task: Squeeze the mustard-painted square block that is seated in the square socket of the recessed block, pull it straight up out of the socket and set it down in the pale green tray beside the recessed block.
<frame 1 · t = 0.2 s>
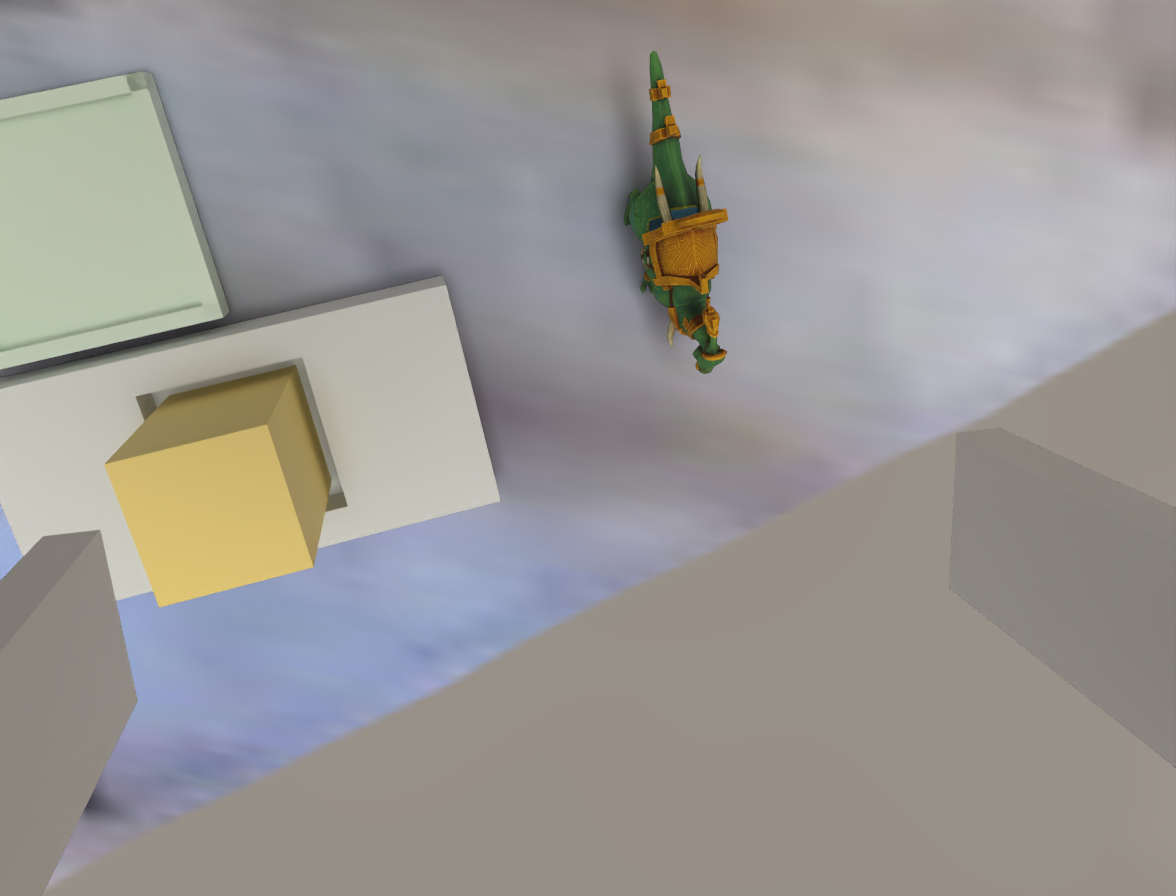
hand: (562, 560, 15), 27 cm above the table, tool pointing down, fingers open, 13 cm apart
recessed block: (256, 432, 41), on the table
tray: (72, 223, 37), on the table
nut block: (252, 438, 40), point 1 cm above the table, touching recessed block
figurine: (650, 213, 41), on the table
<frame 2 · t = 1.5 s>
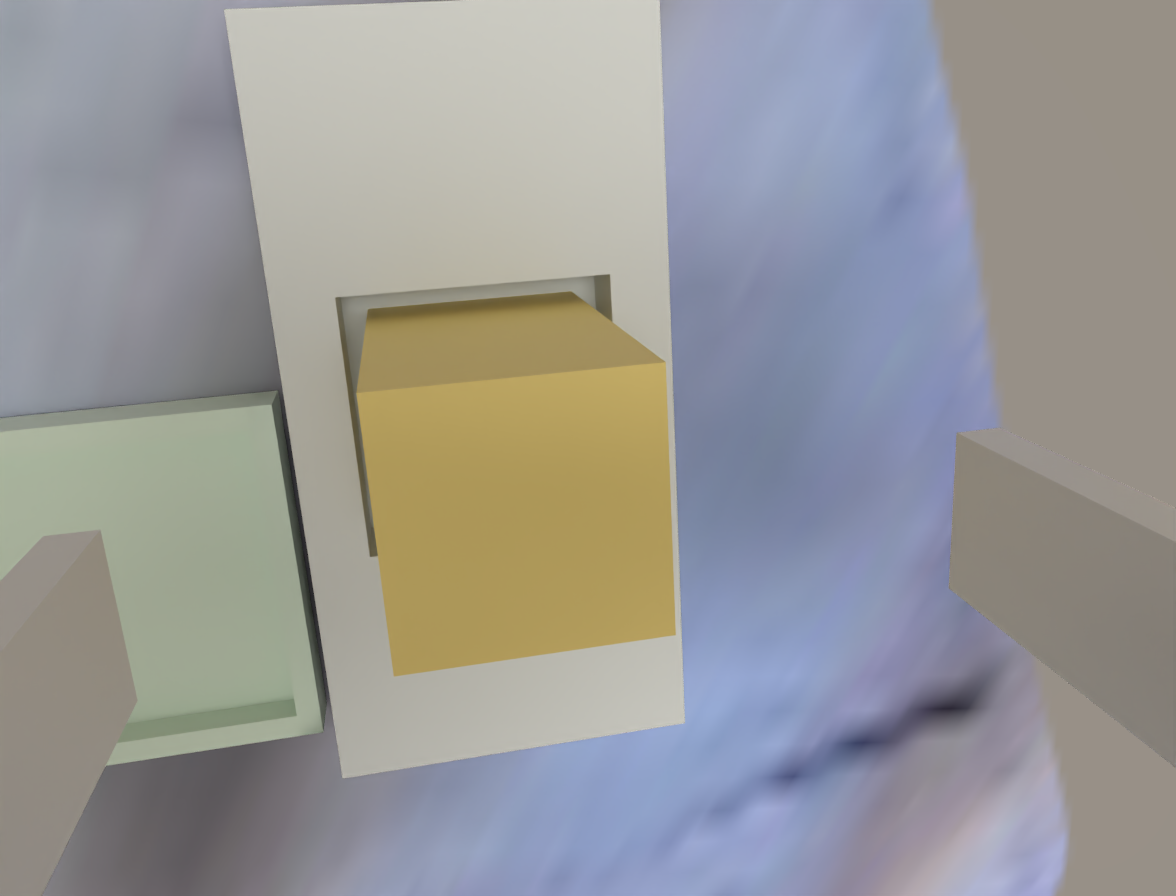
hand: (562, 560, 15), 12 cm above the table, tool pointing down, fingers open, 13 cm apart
recessed block: (477, 389, 26), on the table
tray: (125, 576, 26), on the table
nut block: (480, 398, 25), point 1 cm above the table, touching recessed block
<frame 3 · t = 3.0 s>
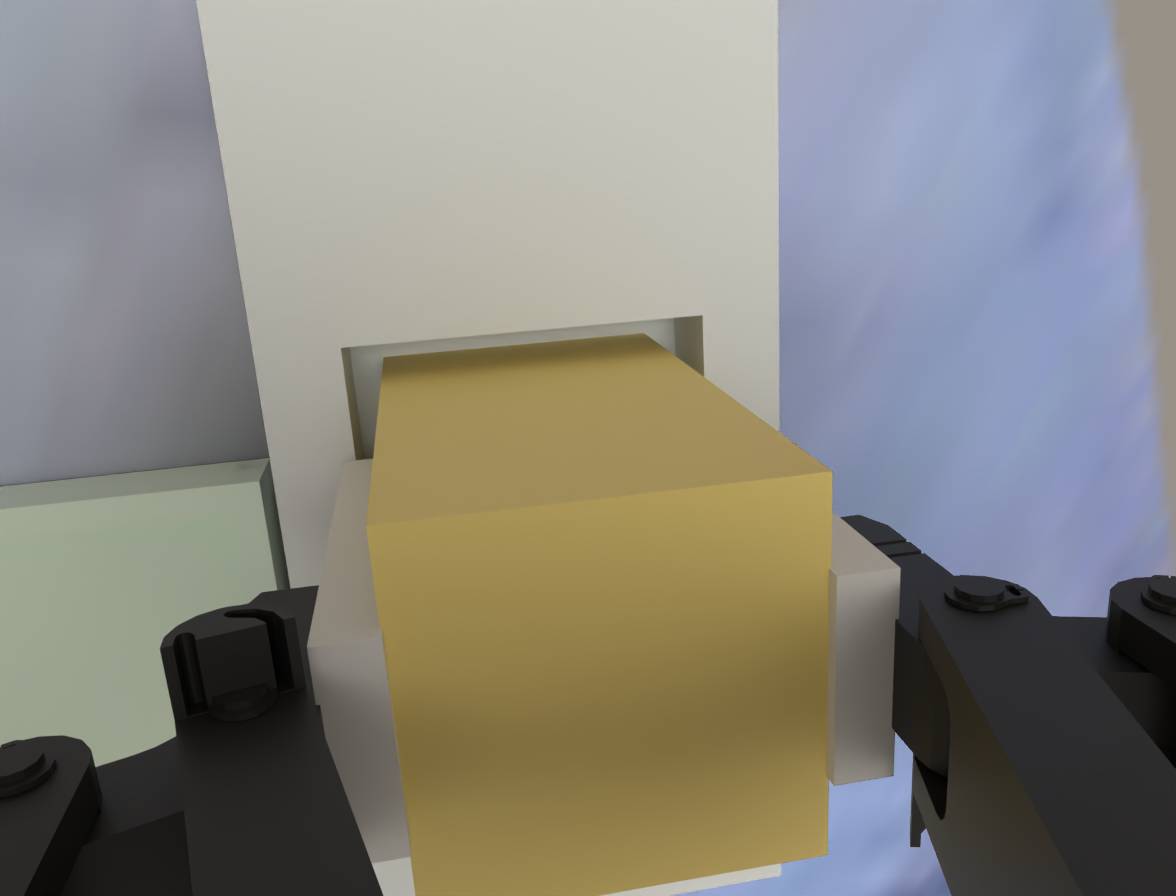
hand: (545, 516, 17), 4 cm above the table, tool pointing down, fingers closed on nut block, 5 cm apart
recessed block: (521, 454, 21), on the table
tray: (77, 690, 20), on the table
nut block: (526, 468, 20), point 1 cm above the table, touching gripper, recessed block
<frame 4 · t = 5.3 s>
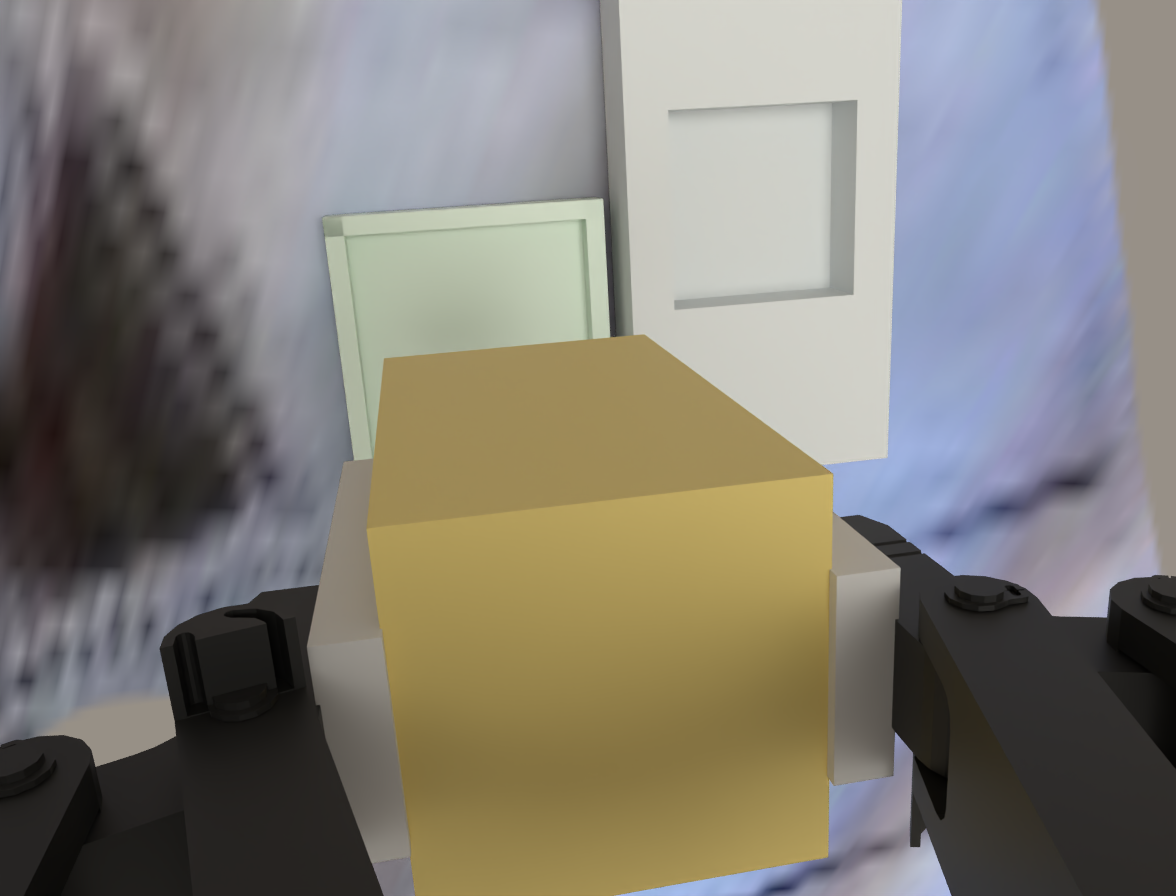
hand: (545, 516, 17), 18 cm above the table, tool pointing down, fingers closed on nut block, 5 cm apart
recessed block: (735, 202, 35), on the table
tray: (475, 338, 35), on the table
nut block: (526, 470, 20), point 16 cm above the table, touching gripper
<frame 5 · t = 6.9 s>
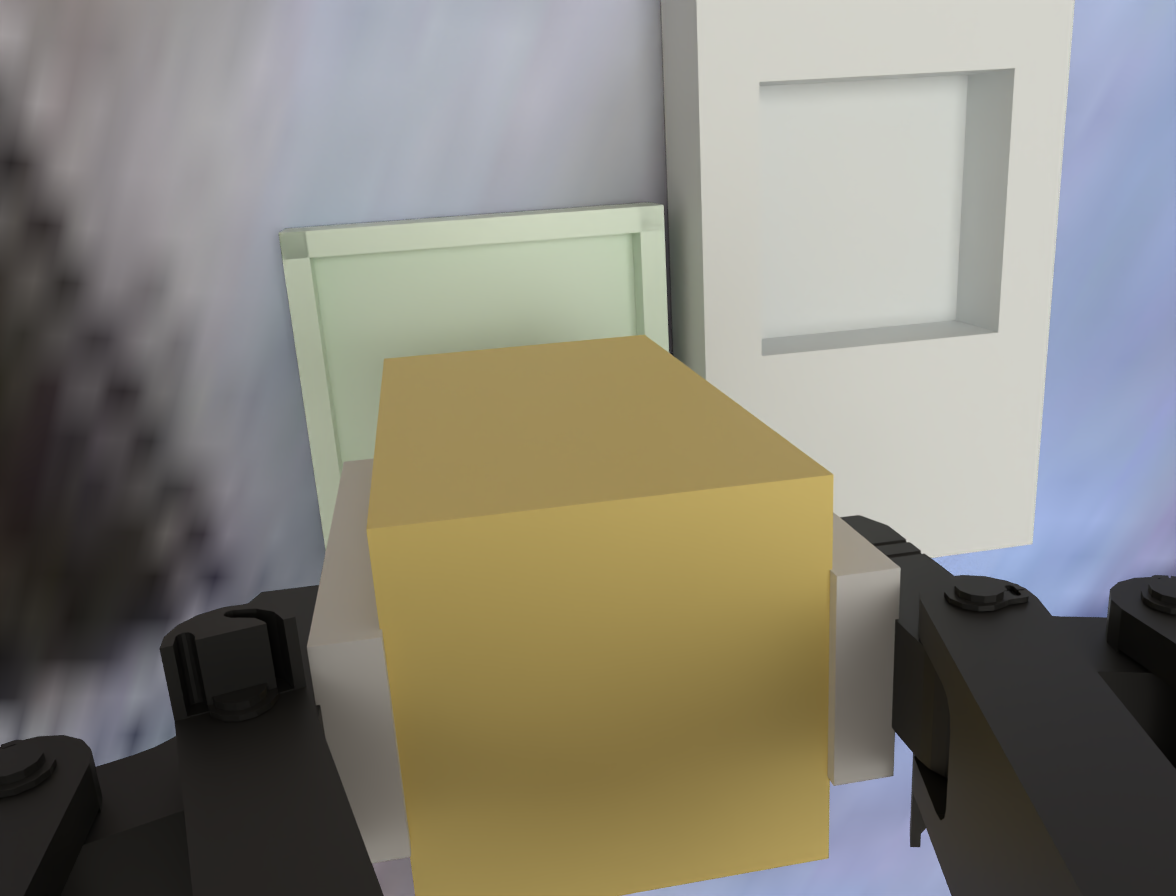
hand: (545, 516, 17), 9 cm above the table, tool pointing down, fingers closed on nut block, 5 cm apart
recessed block: (833, 208, 26), on the table
tray: (488, 391, 26), on the table
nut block: (527, 470, 20), point 7 cm above the table, touching gripper
when the fingers open (5 cm above the table, at t = 8.1 s): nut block drops 1 cm, resting on tray.
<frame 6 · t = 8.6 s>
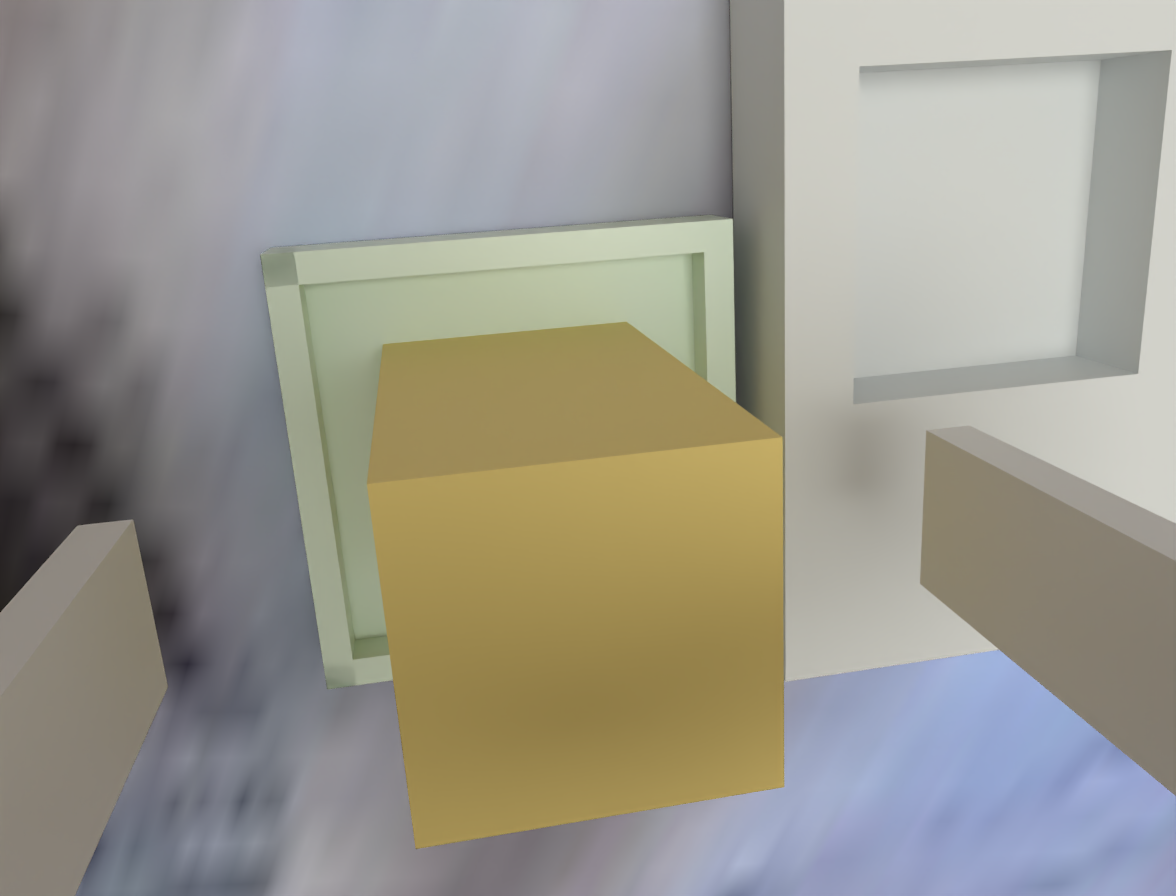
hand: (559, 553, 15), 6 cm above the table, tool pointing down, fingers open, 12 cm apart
recessed block: (930, 221, 22), on the table
tray: (515, 441, 22), on the table
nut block: (517, 449, 21), point 1 cm above the table, touching tray
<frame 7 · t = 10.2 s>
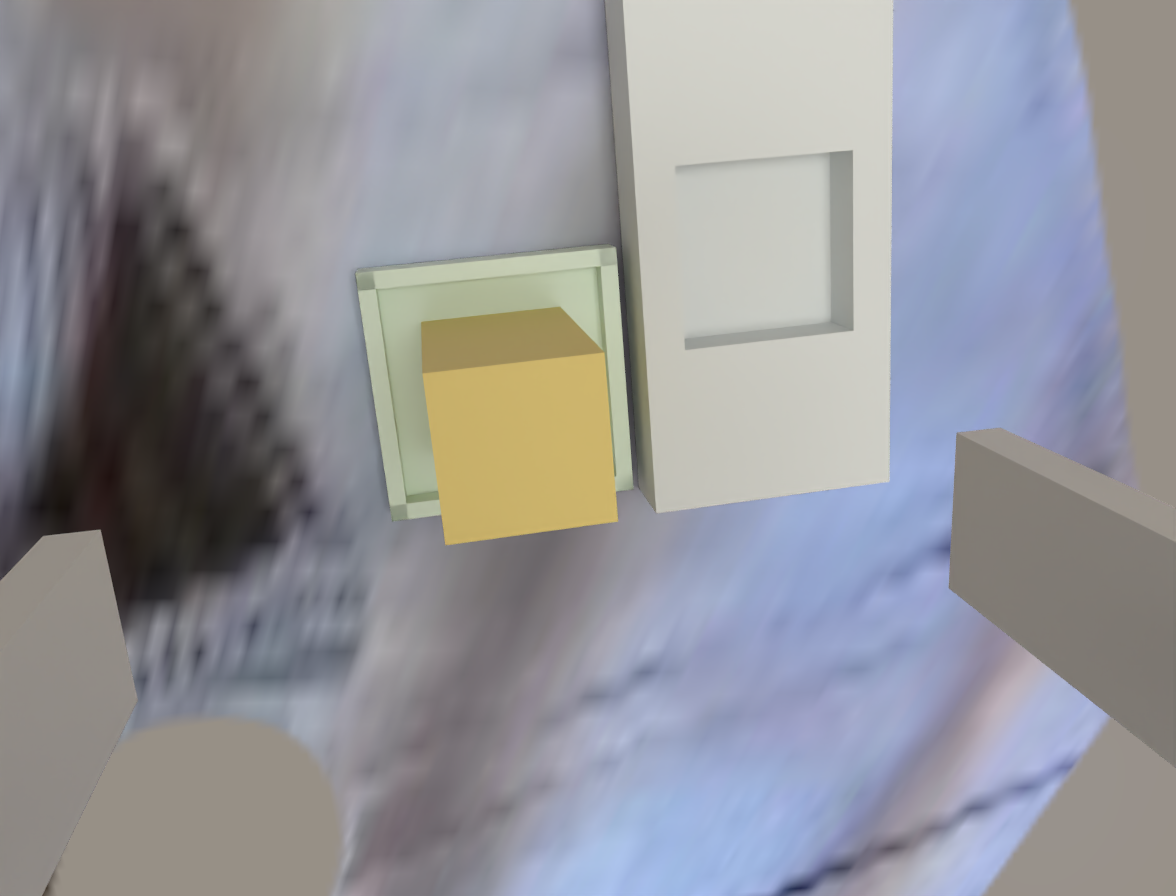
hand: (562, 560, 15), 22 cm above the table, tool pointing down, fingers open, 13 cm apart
recessed block: (740, 244, 37), on the table
tray: (498, 378, 37), on the table
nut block: (498, 381, 36), point 1 cm above the table, touching tray
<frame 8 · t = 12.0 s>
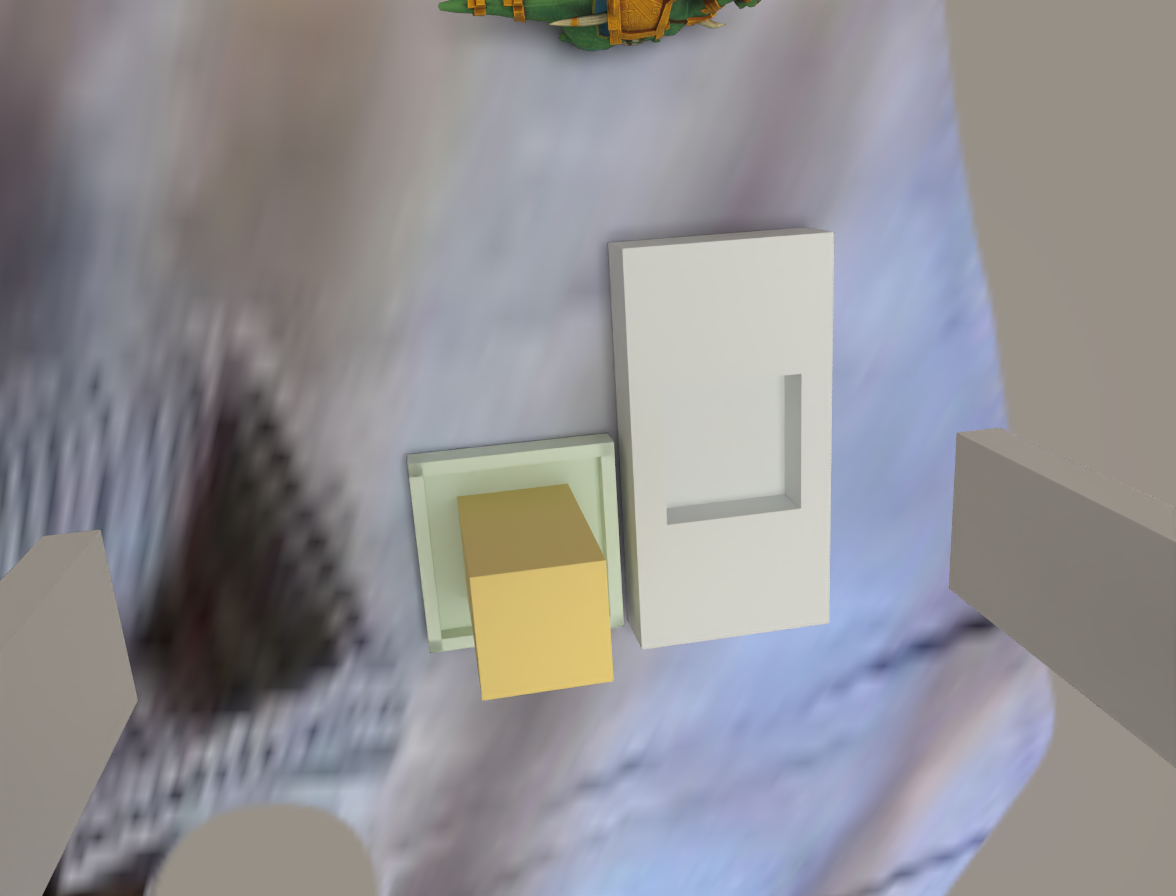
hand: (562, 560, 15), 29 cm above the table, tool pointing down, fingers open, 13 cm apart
recessed block: (713, 432, 46), on the table
tray: (516, 536, 46), on the table
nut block: (517, 541, 45), point 1 cm above the table, touching tray
figurine: (582, 17, 40), on the table
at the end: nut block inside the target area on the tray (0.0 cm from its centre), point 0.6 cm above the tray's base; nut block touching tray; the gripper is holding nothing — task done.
